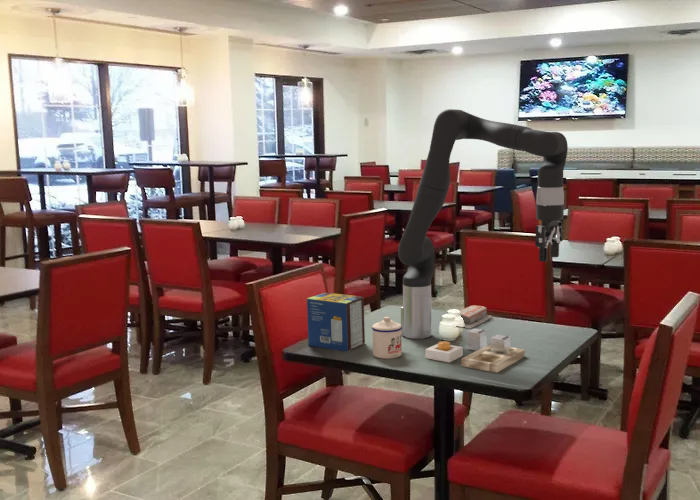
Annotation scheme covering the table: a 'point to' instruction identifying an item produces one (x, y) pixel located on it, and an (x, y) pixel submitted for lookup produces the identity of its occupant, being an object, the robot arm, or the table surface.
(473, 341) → the steel billet
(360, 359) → the table surface
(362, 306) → the protein box
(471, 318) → the packaged product
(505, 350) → the block
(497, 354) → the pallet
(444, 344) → the button
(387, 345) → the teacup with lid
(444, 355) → the box
